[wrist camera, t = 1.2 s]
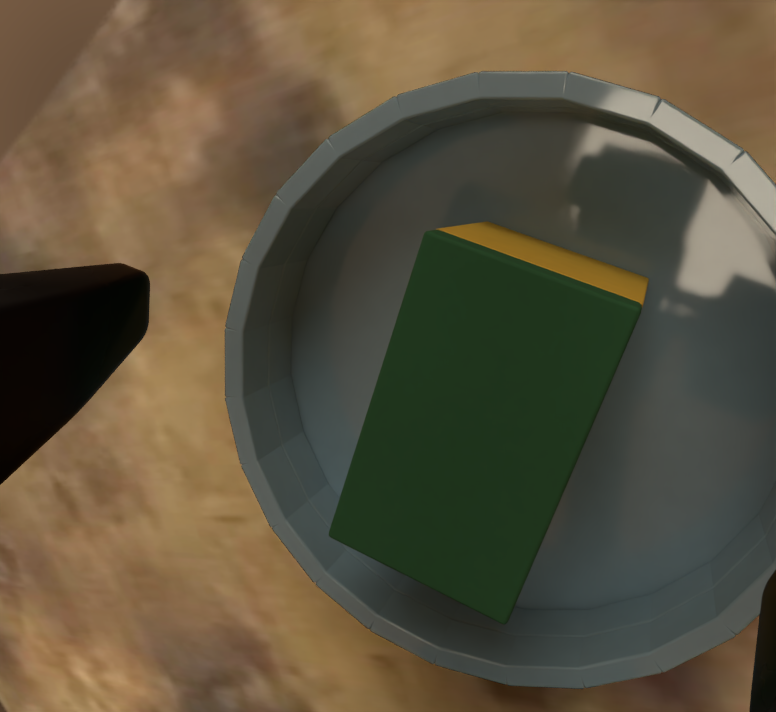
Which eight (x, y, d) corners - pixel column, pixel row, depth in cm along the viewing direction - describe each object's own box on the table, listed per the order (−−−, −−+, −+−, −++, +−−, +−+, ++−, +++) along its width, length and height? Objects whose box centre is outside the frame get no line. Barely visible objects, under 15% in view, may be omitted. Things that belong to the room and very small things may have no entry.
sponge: (544, 523, 21) (505, 627, 16) (404, 459, 22) (325, 537, 17) (649, 278, 19) (642, 309, 14) (485, 220, 20) (423, 229, 15)
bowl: (674, 704, 21) (675, 795, 18) (238, 485, 25) (175, 527, 22) (950, 198, 16) (1018, 198, 13) (360, 26, 20) (303, -6, 17)
